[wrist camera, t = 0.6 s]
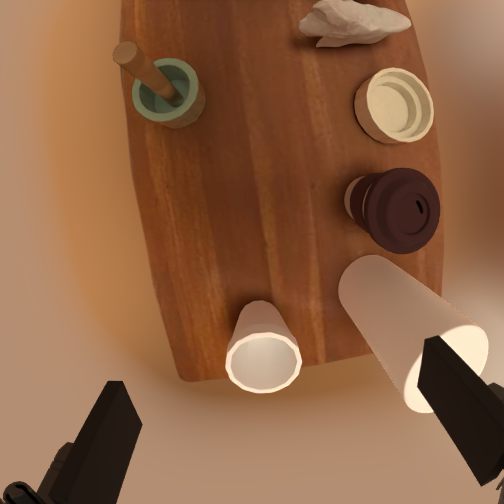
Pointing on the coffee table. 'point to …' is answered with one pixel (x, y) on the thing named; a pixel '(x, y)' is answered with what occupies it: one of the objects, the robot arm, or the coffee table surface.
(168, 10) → the coffee table surface
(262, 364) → the foam cup
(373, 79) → the bowl
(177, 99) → the stirring stick
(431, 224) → the coffee cup
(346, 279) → the tall pillar cylinder
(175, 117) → the holder
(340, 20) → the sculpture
